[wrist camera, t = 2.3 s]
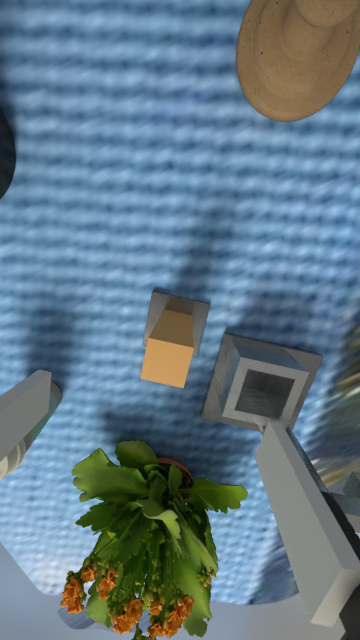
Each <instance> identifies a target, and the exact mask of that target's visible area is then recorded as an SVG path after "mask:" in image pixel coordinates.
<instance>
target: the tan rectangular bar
mask: <svg viewBox="0 0 360 640" xmlns="http://www.w3.org/2000/svg"><path fill="white" fill-rule="evenodd" d="M193 349H194V341H193V320H192V315H188V314H184V313H179V312H175V311H170V310H166V309H164V310H163V312H162V313H161V315H160V317H159V319H158V321H157V323H156V324H155V326H154V328H153V330H152V332H151V334H150V335H149V337H148V341H147V347H146V352H145V357H144V362H143V367H142V372H141V378H140V379H144V380H148V381H153V382H157V383H162V384H166V385H171V386H176V387H180V388H184V385H185V381H186V377H187V373H188V369H189V365H190V361H191V357H192V353H193Z"/></svg>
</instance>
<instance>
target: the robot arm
mask: <svg viewBox="0 0 360 640" xmlns="http://www.w3.org/2000/svg"><path fill="white" fill-rule="evenodd" d="M14 161H15V154H14V144H13V139H12V135H11V131H10V128H9V126H8V123H7V121H6V118H5V116H4V114H3V112H2V111H1V109H0V199H1V198H2V196H3V195H4V194H5V192H6V190H7V189H8V187H9V184H10V182H11V179H12V175H13V171H14ZM51 373H52V372H48V371H43V370H37V371H36V372H34V373H33V374H32V375H30V376H29V377H27V378H26V379H24V380H23V381H22V382H20V383H19V384H17V385H16V386H14V387H13V388H12V389H10V390H9V391H7V392H6V393H4V394H3V395H2V396H0V462H1V461H2V460H3V459H4V458H5V457H6V456H7V455H8V454H9V453H10V451H11V450H12V449H13V448H14V447H15V446H16V445H17V444H18V443H19V442H20V441H21V440H22V439H23V438H24V437H25V436H26V435H27V434H28V433H29V432H30V431H31V429H32V428H33V427H34V426H35V425H36V424H37V423H38V422H39V421H40V420H41V419H42V418H43V417H44V416H45V415H46V414H47V413H48V410H49V397H50V385H51ZM255 459H256V462H257V465H258V468H259V471H260V474H261V477H262V480H263V483H264V486H265V489H266V492H267V495H268V498H269V501H270V504H271V507H272V510H273V513H274V516H275V519H276V522H277V525H278V528H279V531H280V534H281V537H282V540H283V543H284V546H285V549H286V552H287V555H288V558H289V561H290V564H291V567H292V570H293V573H294V576H295V579H296V583H297V586H298V589H299V592H300V595H301V598H302V600H303V604H304V607H305V610H306V612H307V616H308V619H309V622H310V623H315V624H319V625H324V626H328V627H332V626H333V625H334V623H335V621H336V620H337V618H338V617H340V619H341V622H342V624H343V626H344V629H345V631H346V632H345V633H344V635H343V636H342V638H341V640H360V538H359V537H358V535H357V534H355V530H354V528H353V527H352V525H351V524H350V522H348V519H347V517H346V515H345V514H344V512H343V511H342V509H341V507H340V506H339V504H338V503H337V502H336V501H335V500H334V499H333V498H332V497H331V496H330V495H329V493H328V492H323V491H320V490H319V489H318V487H317V485H316V483H315V482H314V480H313V478H312V476H311V475H310V473H309V471H308V469H307V468H306V466H305V464H304V462H303V461H302V459H301V457H300V455H299V453H298V452H297V450H296V448H295V446H294V445H293V443H292V441H291V439H290V438H289V436H288V434H287V432H286V431H285V429H284V427H283V425H282V424H281V423H278V422H273V421H268V424H267V427H266V429H265V432H264V434H263V437H262V440H261V442H260V445H259V448H258V450H257V453H256V456H255Z"/></svg>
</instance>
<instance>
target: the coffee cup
mask: <svg viewBox="0 0 360 640" xmlns="http://www.w3.org/2000/svg"><path fill="white" fill-rule="evenodd" d="M61 399H62V395H61V391H60V389H59V387H58V386H57V385H56V384H55V383H54V382H52V381H51V385H50V397H49V410H48V413H47V414H46V415H45V416H44V417H43V418H42V419H41V420H40V421H39V422H38V423H37V424H36V425H35V426H34V427H33V428H32V429H31V431H30V432H29V433H28V434H27V435H26V436H25V437H24V438H23V439H22V440H21V441H20V442H19V443H18V444H17V445H16V446H15V447H14V448H13V449H12V450H11V451H10V453H9V454H8V455H7V456H6V457H5V458H4V459H3V460H2V461H1V462H0V479H2V478H3V477H4V476H6V475H8V474H10V473H11V472H13V471H14V470H15V469H16V468H17V467H18V466H20V464H21V463H22V462H23V460H24V458H25V454H26V452H27V450H28V449H29V447H30V446H31V445H32V443H33V442H34V440H35V439H36V437H37V436H38V434H39V433H40V432H41V430H42V429H43V427H44V426H45V424H46V423H47V421H48V420H49V419H50V417H51V416H52V414H53V413H54V411H55V410H56V408H57V407H58V405H59V404H60V402H61Z"/></svg>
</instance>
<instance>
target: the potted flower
mask: <svg viewBox="0 0 360 640" xmlns="http://www.w3.org/2000/svg"><path fill="white" fill-rule="evenodd" d="M115 453H116V454H117V455H118V457H117V459H118V460H119V461H120V465H121V466H118V465H115V464H114V463H113V462H111V461H110V460H109V458H108V457H107V455H106V454H105V453H104V452H103V450H102V449H101V448H98V449H97V450H95V451H94V452H93V453H92V454H91V455H90V456H89V457H87V458H86V459H84V460H83V461H81V462H80V463H78V464H77V465H75V466H74V467H73V470H72V471H71V473H72V475H73V476H77V477H76V478H74V480H73V485H74V486H77V489H79V490H80V491H82V492H84V491H85V493H83V494H81V495H80V497H79V500H80V502H85V501H87V500H90V499H92V498H96V499H99V500H103V501H104V502H102V503H99V504H98V505H94V506H92V507H90V510H91V511H90V512H87V514H85V515H83V516H81V517H80V519H79V520H77V521H76V522H75V523H76V524H77V525H80V526H82V527H83V528H84V527H87V526H90V525H91V524H92V526H91V529H92V531H97V530H98V529H99V530H98V531H97V532H95V533H94V534H93V535H95V534H97V533H98V532H100V531H101V532H102V534H100V536H99V538H98V541H97V543H96V545H95V547H94V549H93V551H92V552H91V554H90V555H89V557H87V558H85V559H84V562H83V566H82V568H81V569H80V570H79V572H77V573H73V571H69V572H68V573H67V575H68V576H67V578H66V581H68V582H67V583H66V584H65V587H64V592H62V595H64V596H63V600H62V601H61V603H60V606H61V607H62V608H63V607H65V606H66V605H68V611H67V612H68V613H72V612H74V613H80V611H82V610H83V609H84V605H82V602H83V600H84V601H85V599H86V596H87V594H86V593H85V592H84V586H83V585H84V583H88V582H89V581H91V582H92V581H94V580H96V581H95V582H94V583H93V584H92V586H91V587H90V588H89V590H88V594H89V595H91V597H90V598H89V599H88V602H87V606H86V608H85V611H87V614H86V618H89V617H90V616H91V618H93V619H94V620H95V621H96V622H97V623H99V624H101V623H102V622H103V624H104V625H105V624H106V627H107V628H108V629H109V628H110V627H111V626H112V625H113V624H114V623H116V624H115V625H114V626H113V628H112V629H113V630H114V631H116V632H118V633H119V634H122V633H126V632H128V633H130V631H131V627H132V628H134V624H136V633H135V635H134V638H133V639H132V640H149V638H150V640H156V638H155V637H156V636H158V635H159V636H160V637H162V636H163V635H166V636H167V637H169V638H170V637H171V636H173V635H174V634H176V633H177V630H178V629H180V628H181V624H182V623H183V626H184V629H185V630H187V632H188V634H189V635H190V636H193V635H194V634H196V635H197V636H199V637H203V636H204V634H205V633H206V630H207V624H206V622H204V621H203V619H204V618H207V620H208V621H209V619H212V615H211V613H210V609H209V605H210V598H211V592H210V590H211V577H210V574H211V576H212V577H213V578H216V573H217V570H218V564H217V561H218V557H217V555H216V553H215V551H216V547H215V544H214V542H213V538H212V534H211V526H210V523H209V518H208V515H207V513H206V511H205V509H206V510H207V511H208V509H209V510H212V511H213V509H214V511H215V512H219V511H218V509H220V511H221V512H224V513H225V514H227V507H229V508H230V509H239V508H240V506H241V505H240V501H242V500H245V499H246V497H247V495H248V492H247V490H246V489H245V488H244V487H242V486H240V485H239V486H237V485H230V484H220V483H216V482H213V481H211V480H208V479H206V478H204V477H200V478H197V480H195V481H194V482H193V477H192V475H191V473H190V471H189V470H188V469H187V467H186V466H184V465H182V464H181V463H180V462H178V461H175V460H172V459H170V458H157V457H156V455H155V453H154V451H153V450H152V448H151V447H150V446H149V445H147V444H146V443H145V442H144V441H139V440H137V441H130V442H128V441H123V442H120V443H119V444H118V445H117V446H116V450H115ZM186 502H187V505H186V504H185V503H186ZM95 552H96V553H95ZM92 564H93V566H92ZM146 574H147V575H146ZM145 576H146V578H145ZM144 582H145V585H144ZM142 587H143V590H142ZM141 592H142V595H141ZM135 593H136V594H138V593H139V595H138V598H136V596H135ZM140 598H141V599H140ZM149 607H150V614H148V615H149V616H150V617H151V618H150V623H152V625H151V626H150V627H148V629H147V632H148V633H149V637H146V636H142V635H141V634H142V630H141V629H139V628H138V623H139V620H140V617H141V616H142V613H144V612H145V611H146V610H147V609H148V608H149ZM143 608H144V610H143ZM142 610H143V611H142Z"/></svg>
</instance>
